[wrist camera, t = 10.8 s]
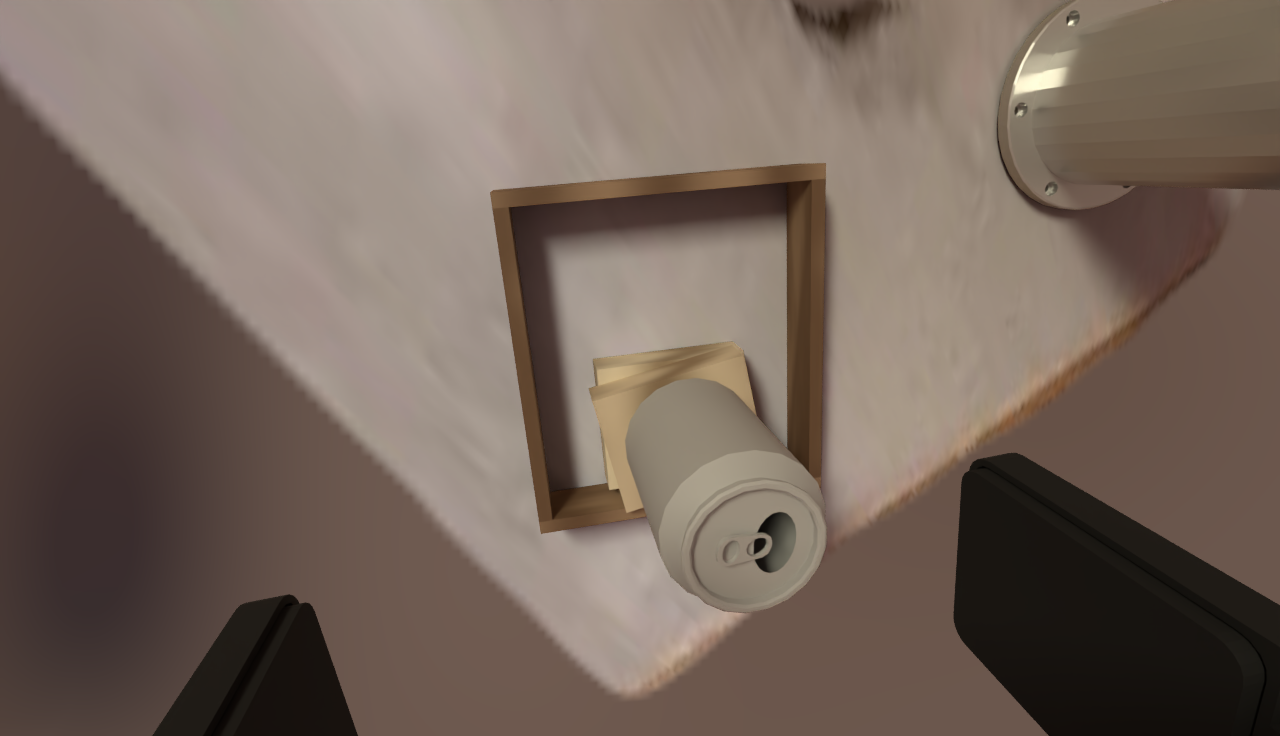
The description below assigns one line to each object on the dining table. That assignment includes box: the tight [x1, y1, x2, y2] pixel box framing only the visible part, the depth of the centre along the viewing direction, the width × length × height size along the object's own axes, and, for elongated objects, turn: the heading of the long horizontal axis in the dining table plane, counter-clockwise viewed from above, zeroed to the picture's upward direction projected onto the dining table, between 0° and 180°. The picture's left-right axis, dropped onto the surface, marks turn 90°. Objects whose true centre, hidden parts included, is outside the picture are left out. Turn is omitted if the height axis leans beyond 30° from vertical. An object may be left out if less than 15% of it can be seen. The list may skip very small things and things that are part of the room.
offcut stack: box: [589, 342, 757, 513], centre depth 38 cm, size 10×9×4 cm
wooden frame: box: [490, 163, 826, 534], centre depth 37 cm, size 18×20×4 cm
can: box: [625, 378, 827, 613], centre depth 31 cm, size 8×8×12 cm
